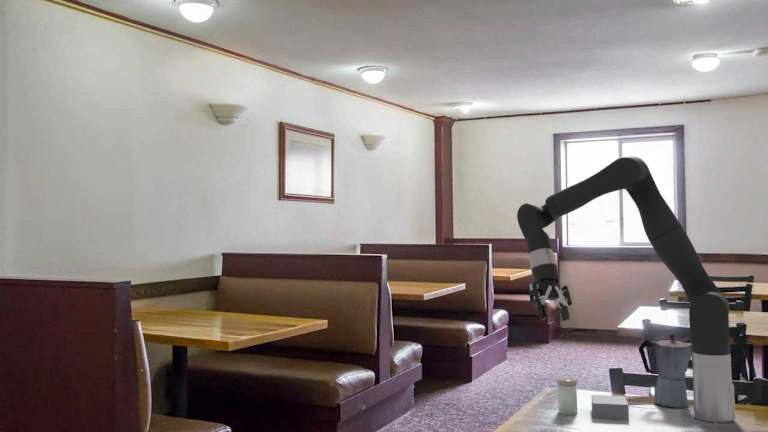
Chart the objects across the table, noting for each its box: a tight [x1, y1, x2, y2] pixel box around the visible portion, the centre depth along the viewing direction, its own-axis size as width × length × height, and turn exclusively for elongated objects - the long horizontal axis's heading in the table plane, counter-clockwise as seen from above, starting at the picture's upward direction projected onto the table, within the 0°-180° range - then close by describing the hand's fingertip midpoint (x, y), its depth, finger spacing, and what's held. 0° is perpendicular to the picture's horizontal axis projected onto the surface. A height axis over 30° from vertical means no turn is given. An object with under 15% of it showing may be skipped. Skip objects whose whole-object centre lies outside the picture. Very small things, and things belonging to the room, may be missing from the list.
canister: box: [556, 377, 578, 416], centre depth 183 cm, size 5×5×9 cm
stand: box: [590, 394, 630, 421], centre depth 180 cm, size 9×9×4 cm
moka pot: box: [638, 333, 692, 409], centre depth 189 cm, size 10×15×20 cm, turn 78°
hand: (555, 319), depth 190 cm, fingers open, 8 cm apart
